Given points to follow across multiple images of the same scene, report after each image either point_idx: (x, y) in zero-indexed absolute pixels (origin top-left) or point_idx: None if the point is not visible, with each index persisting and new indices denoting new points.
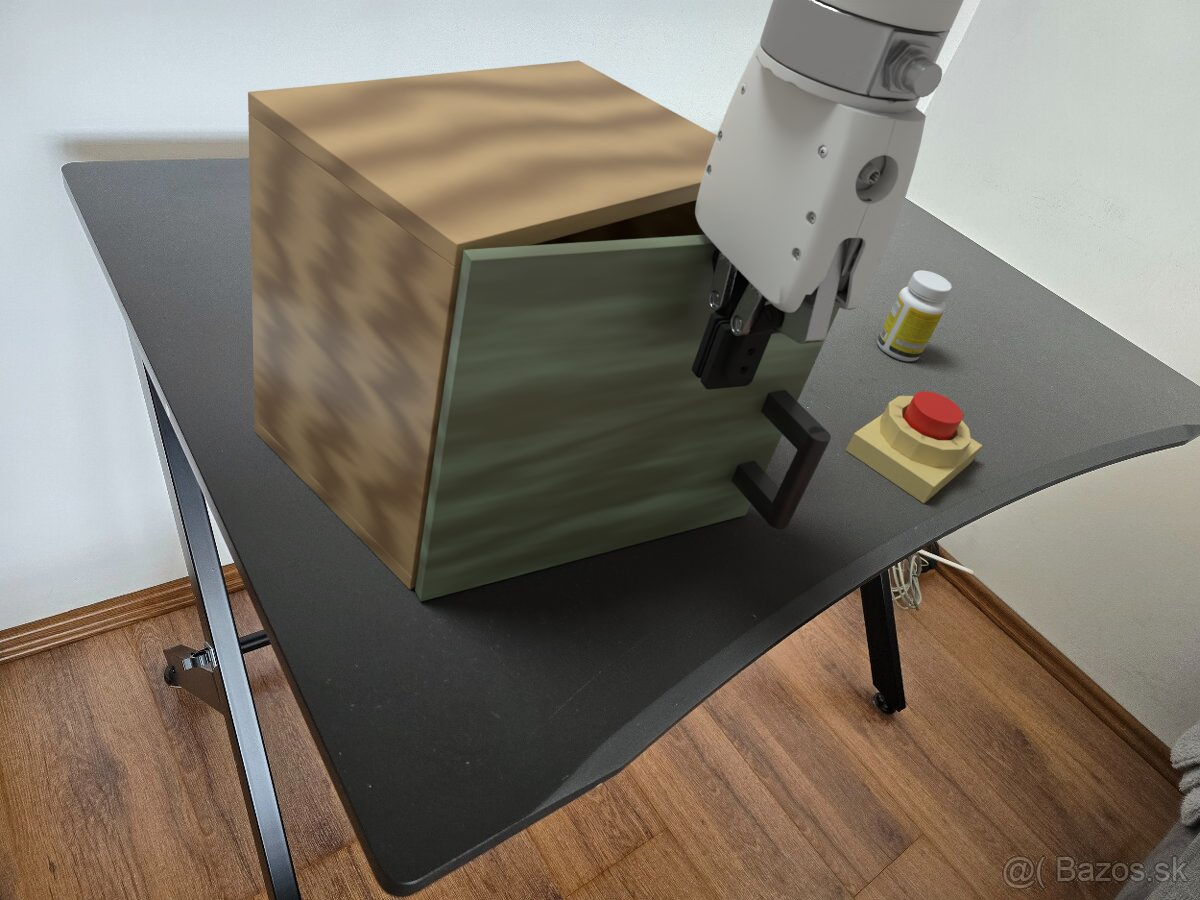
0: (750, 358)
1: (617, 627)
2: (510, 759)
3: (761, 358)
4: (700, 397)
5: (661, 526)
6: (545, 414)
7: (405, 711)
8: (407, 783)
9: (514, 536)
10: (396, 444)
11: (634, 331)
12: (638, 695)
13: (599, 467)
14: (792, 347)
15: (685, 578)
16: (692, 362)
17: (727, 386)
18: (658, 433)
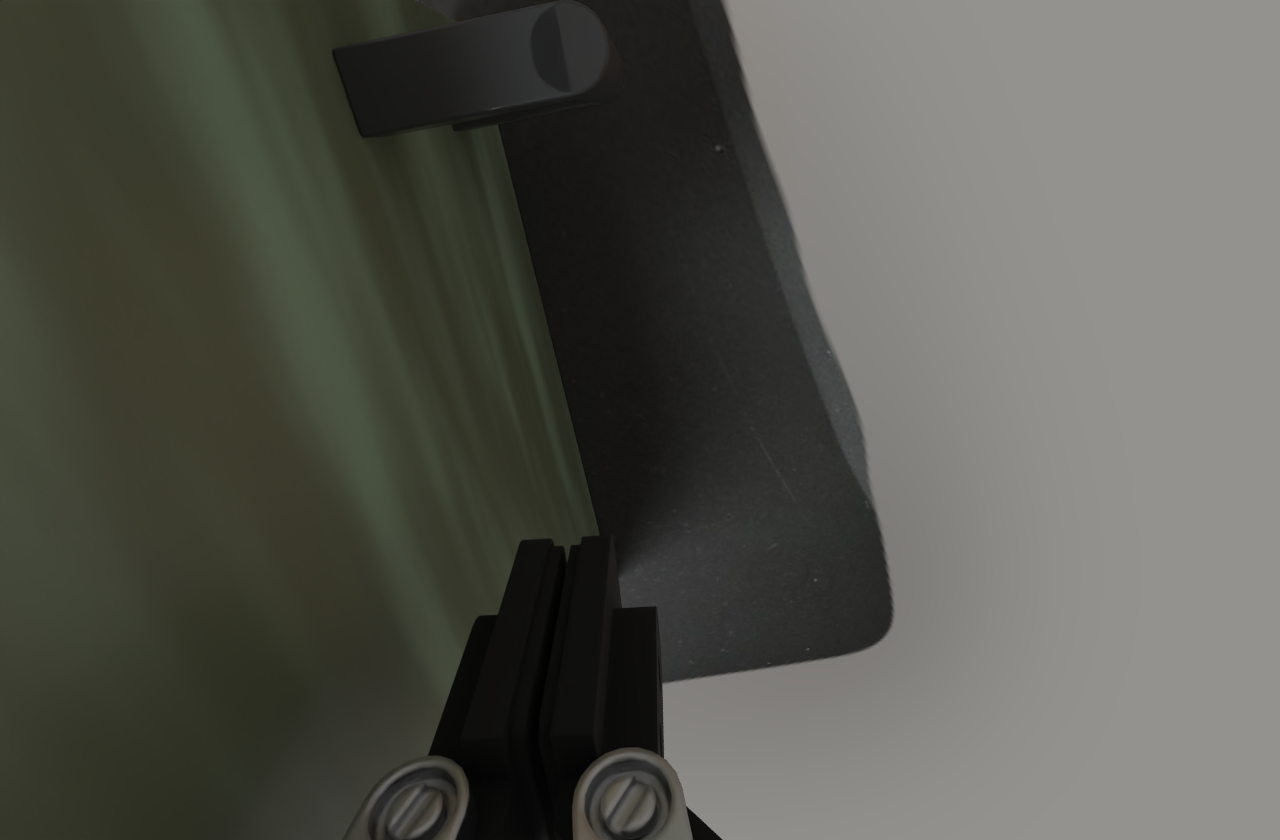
0: (659, 705)
1: (690, 383)
2: (827, 546)
3: (603, 602)
4: (442, 411)
5: (525, 266)
6: None
7: (742, 615)
8: (816, 625)
9: None
10: None
11: None
12: (799, 395)
13: (537, 517)
14: (243, 111)
15: (619, 241)
16: (420, 544)
17: (619, 599)
18: (494, 450)
